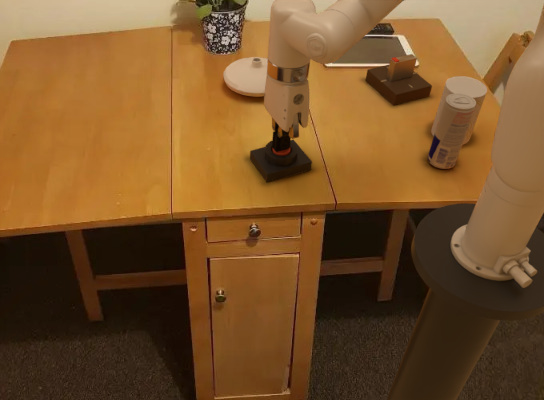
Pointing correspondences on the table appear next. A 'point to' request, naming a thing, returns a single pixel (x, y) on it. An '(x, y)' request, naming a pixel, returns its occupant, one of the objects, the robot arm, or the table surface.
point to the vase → (247, 76)
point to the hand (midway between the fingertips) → (280, 148)
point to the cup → (466, 87)
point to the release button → (282, 152)
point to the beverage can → (451, 130)
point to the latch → (401, 67)
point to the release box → (280, 162)
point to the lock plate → (398, 86)
